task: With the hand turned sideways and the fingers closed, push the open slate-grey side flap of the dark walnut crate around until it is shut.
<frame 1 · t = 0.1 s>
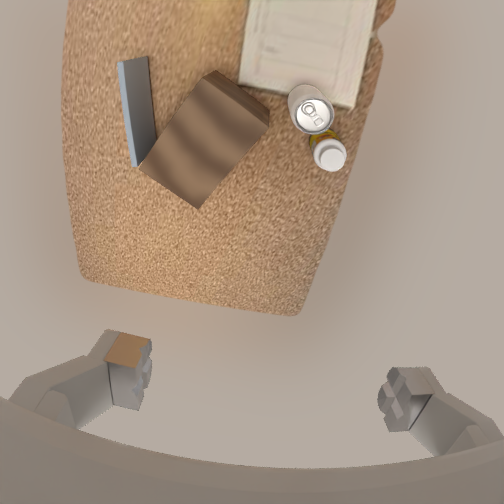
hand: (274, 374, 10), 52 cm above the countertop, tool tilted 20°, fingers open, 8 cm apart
crate: (212, 126, 55), on the countertop
can: (305, 101, 52), on the countertop
supplement bottle: (323, 140, 56), on the countertop
flap: (138, 108, 47), point 6 cm above the countertop, hinge at 40.0°
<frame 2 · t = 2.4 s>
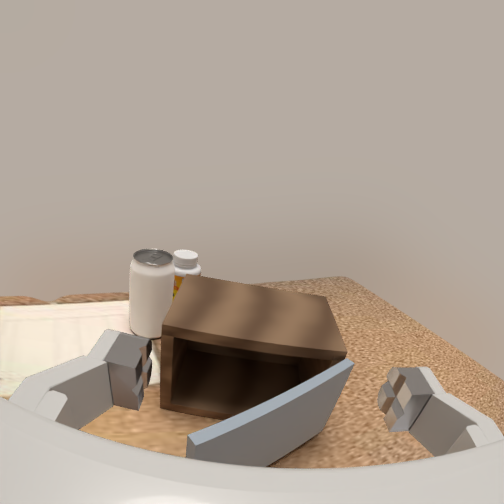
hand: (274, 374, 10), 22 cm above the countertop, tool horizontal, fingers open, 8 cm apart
crate: (239, 387, 39), on the countertop
can: (149, 328, 47), on the countertop
supplement bottle: (180, 309, 55), on the countertop
flap: (273, 434, 25), point 6 cm above the countertop, hinge at 40.0°
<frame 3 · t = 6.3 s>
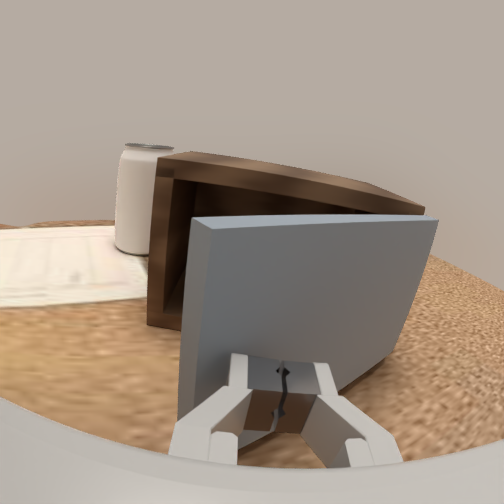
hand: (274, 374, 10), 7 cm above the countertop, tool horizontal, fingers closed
crate: (264, 304, 29), on the countertop
can: (140, 248, 37), on the countertop
flap: (345, 320, 15), point 6 cm above the countertop, hinge at 39.1°, touching gripper
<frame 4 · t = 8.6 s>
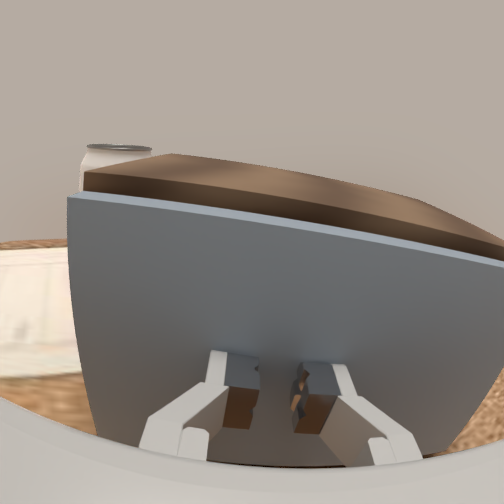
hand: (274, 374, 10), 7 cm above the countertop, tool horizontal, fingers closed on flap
crate: (275, 377, 19), on the countertop
can: (113, 280, 28), on the countertop
flap: (327, 377, 11), point 6 cm above the countertop, hinge at 1.0°, touching gripper
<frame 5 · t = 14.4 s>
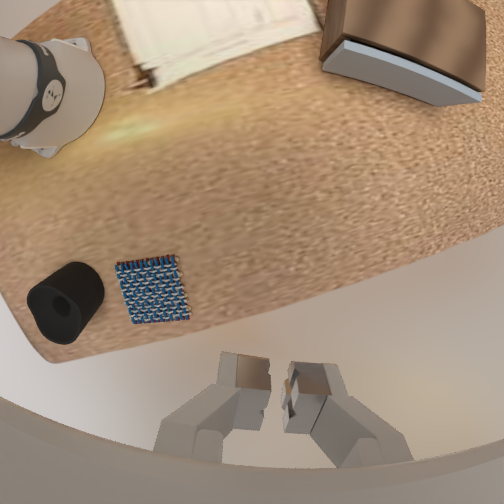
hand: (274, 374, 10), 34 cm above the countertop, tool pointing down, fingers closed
woven mat: (155, 288, 47), on the countertop
pen holder: (82, 285, 47), on the countertop
crate: (386, 41, 35), on the countertop
flap: (401, 77, 31), point 6 cm above the countertop, hinge at 0.7°
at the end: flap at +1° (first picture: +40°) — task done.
